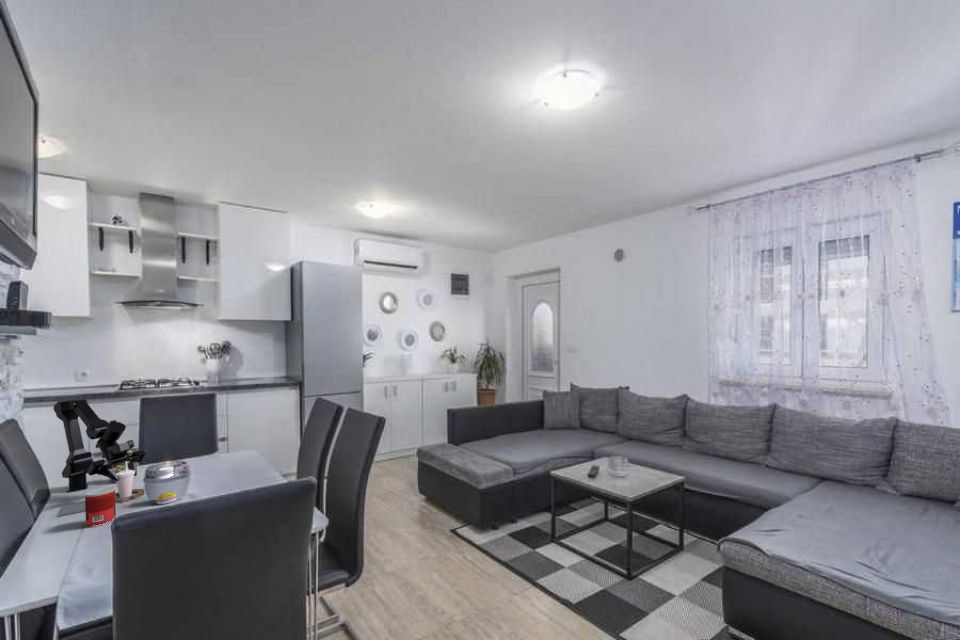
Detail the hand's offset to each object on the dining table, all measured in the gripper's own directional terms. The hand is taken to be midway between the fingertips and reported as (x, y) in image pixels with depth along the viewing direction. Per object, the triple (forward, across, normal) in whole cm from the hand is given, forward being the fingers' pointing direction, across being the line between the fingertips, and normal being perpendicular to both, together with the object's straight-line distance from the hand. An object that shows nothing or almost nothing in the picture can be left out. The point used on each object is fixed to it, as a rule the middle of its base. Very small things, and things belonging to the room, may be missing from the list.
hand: (127, 477), depth 177 cm
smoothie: (+5, 0, +6) cm, 8 cm away
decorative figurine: (-13, +13, +25) cm, 31 cm away
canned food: (+19, -18, -7) cm, 27 cm away
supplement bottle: (+21, +2, -10) cm, 23 cm away
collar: (+5, 0, +6) cm, 8 cm away
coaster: (+1, -12, +10) cm, 16 cm away
